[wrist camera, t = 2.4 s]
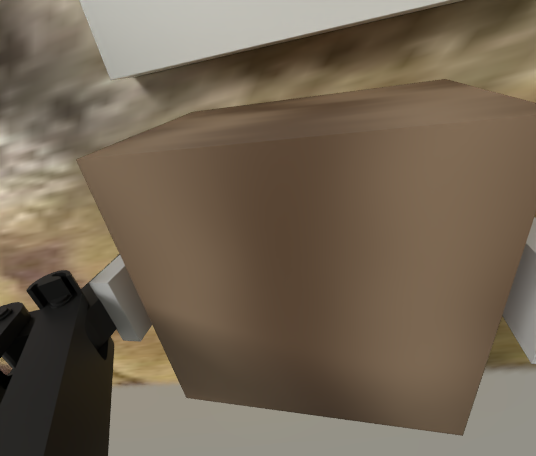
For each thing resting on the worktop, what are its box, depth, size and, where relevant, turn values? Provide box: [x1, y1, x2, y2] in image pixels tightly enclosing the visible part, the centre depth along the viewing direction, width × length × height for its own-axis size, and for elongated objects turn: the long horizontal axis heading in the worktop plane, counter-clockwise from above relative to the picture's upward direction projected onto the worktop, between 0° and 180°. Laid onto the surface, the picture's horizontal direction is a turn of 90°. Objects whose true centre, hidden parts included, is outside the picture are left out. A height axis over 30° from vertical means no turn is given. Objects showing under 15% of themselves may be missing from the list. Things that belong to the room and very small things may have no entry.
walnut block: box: [76, 79, 536, 436], centre depth 11 cm, size 10×10×7 cm
